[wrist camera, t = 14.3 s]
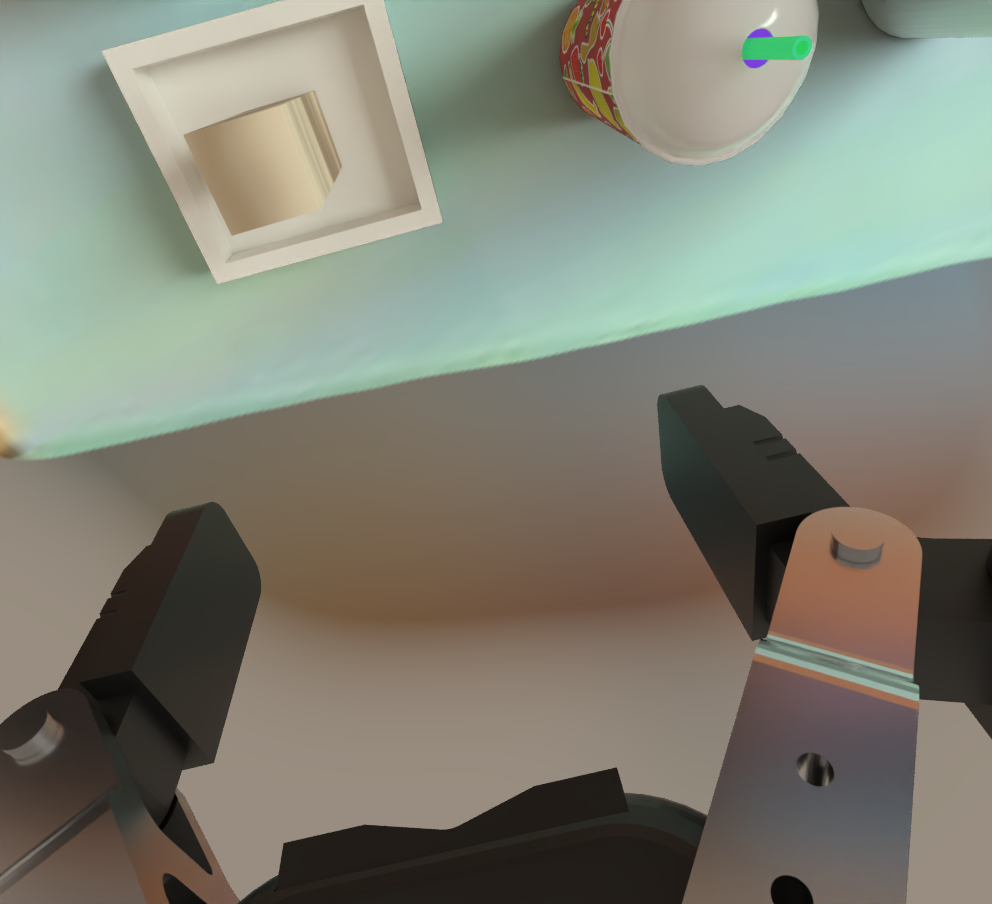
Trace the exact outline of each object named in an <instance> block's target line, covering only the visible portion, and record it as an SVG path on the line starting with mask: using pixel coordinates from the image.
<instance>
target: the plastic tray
mask: <svg viewBox="0 0 992 904" xmlns="http://www.w3.org/2000/svg"><path fill="white" fill-rule="evenodd" d="M102 53H103V55H104V57H105V59H106V61H107V63H108V65H109V68H110V70H111V72H112V74H113V76H114V78H115V80H116V82H117V84H118V86H119V88H120V90H121V92H122V94H123V96H124V98H125V100H126V102H127V104H128V106H129V108H130V110H131V112H132V114H133V116H134V118H135V120H136V122H137V124H138V126H139V128H140V130H141V132H142V134H143V136H144V138H145V140H146V142H147V144H148V146H149V148H150V150H151V152H152V154H153V156H154V158H155V160H156V162H157V164H158V166H159V168H160V170H161V172H162V174H163V176H164V178H165V180H166V182H167V184H168V186H169V188H170V190H171V192H172V194H173V196H174V198H175V200H176V202H177V204H178V206H179V208H180V210H181V212H182V214H183V216H184V218H185V220H186V222H187V224H188V226H189V228H190V231H191V233H192V235H193V237H194V239H195V241H196V243H197V245H198V247H199V249H200V251H201V253H202V255H203V257H204V259H205V261H206V263H207V265H208V267H209V269H210V271H211V273H212V275H213V277H214V279H215V281H216V283H217V284H220V283H223V282H227V281H231V280H234V279H238V278H242V277H245V276H249V275H253V274H256V273H260V272H264V271H267V270H271V269H275V268H278V267H282V266H286V265H289V264H293V263H297V262H300V261H304V260H308V259H311V258H315V257H319V256H322V255H326V254H330V253H333V252H337V251H340V250H344V249H348V248H351V247H355V246H359V245H362V244H366V243H370V242H373V241H377V240H381V239H384V238H388V237H392V236H395V235H399V234H403V233H406V232H410V231H414V230H417V229H421V228H425V227H428V226H432V225H436V224H439V223H443V221H442V217H441V213H440V209H439V206H438V202H437V198H436V194H435V191H434V187H433V183H432V180H431V176H430V172H429V168H428V165H427V161H426V157H425V153H424V150H423V146H422V142H421V138H420V135H419V131H418V127H417V124H416V120H415V116H414V112H413V109H412V105H411V101H410V97H409V94H408V90H407V86H406V83H405V79H404V75H403V71H402V68H401V64H400V60H399V56H398V53H397V49H396V45H395V42H394V38H393V34H392V30H391V27H390V23H389V19H388V15H387V12H386V8H385V4H384V1H383V0H281V1H278V2H274V3H271V4H267V5H264V6H260V7H256V8H253V9H249V10H246V11H242V12H239V13H235V14H231V15H228V16H224V17H221V18H217V19H214V20H210V21H206V22H203V23H199V24H196V25H192V26H189V27H185V28H181V29H178V30H174V31H171V32H167V33H164V34H160V35H156V36H153V37H149V38H146V39H142V40H139V41H135V42H131V43H128V44H124V45H121V46H117V47H114V48H110V49H106V50H103V51H102ZM311 91H315V92H316V95H317V98H318V101H319V104H320V106H321V109H322V112H323V115H324V117H325V120H326V123H327V126H328V129H329V131H330V134H331V137H332V140H333V142H334V145H335V148H336V151H337V154H338V156H339V159H340V162H341V165H342V168H341V170H340V172H339V174H338V176H337V178H336V180H335V182H334V184H333V186H332V188H331V190H330V192H329V194H328V196H327V198H326V200H325V202H324V204H323V206H322V208H321V210H317V211H314V212H310V213H307V214H304V215H300V216H297V217H294V218H290V219H287V220H283V221H280V222H277V223H273V224H270V225H267V226H263V227H260V228H256V229H253V230H250V231H246V232H243V233H240V234H236V235H233V236H232V235H231V233H230V231H229V229H228V227H227V225H226V223H225V221H224V219H223V217H222V215H221V213H220V210H219V208H218V206H217V204H216V202H215V200H214V198H213V196H212V194H211V192H210V190H209V188H208V186H207V184H206V181H205V179H204V177H203V175H202V173H201V171H200V169H199V167H198V165H197V163H196V161H195V159H194V157H193V154H192V152H191V150H190V148H189V146H188V144H187V142H186V140H185V138H184V136H183V135H184V134H187V133H189V132H192V131H195V130H197V129H200V128H203V127H205V126H208V125H211V124H213V123H216V122H219V121H221V120H224V119H227V118H229V117H232V116H235V115H237V114H240V113H242V112H245V111H248V110H252V109H255V108H258V107H262V106H265V105H268V104H271V103H275V102H278V101H281V100H285V99H288V98H291V97H295V96H298V95H301V94H305V93H308V92H311Z"/></svg>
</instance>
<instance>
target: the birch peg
mask: <svg viewBox="0 0 992 904" xmlns="http://www.w3.org/2000/svg"><path fill="white" fill-rule="evenodd" d="M183 136H184V138H185V140H186V142H187V144H188V146H189V148H190V150H191V152H192V154H193V157H194V159H195V161H196V163H197V165H198V167H199V169H200V171H201V173H202V175H203V177H204V179H205V181H206V184H207V186H208V188H209V190H210V192H211V194H212V196H213V198H214V200H215V202H216V204H217V206H218V208H219V210H220V213H221V215H222V217H223V219H224V221H225V223H226V225H227V227H228V229H229V231H230V233H231V235H232V236H233V235H236V234H240V233H243V232H246V231H250V230H253V229H256V228H260V227H263V226H267V225H270V224H273V223H277V222H280V221H283V220H287V219H290V218H294V217H297V216H300V215H304V214H307V213H310V212H314V211H317V210H321V208H322V206H323V204H324V202H325V200H326V198H327V196H328V194H329V192H330V190H331V188H332V186H333V184H334V182H335V180H336V178H337V176H338V174H339V172H340V170H341V168H342V165H341V162H340V159H339V156H338V154H337V151H336V148H335V145H334V142H333V140H332V137H331V134H330V131H329V129H328V126H327V123H326V120H325V117H324V115H323V112H322V109H321V106H320V104H319V101H318V98H317V95H316V92H315V91H311V92H308V93H305V94H301V95H298V96H295V97H291V98H288V99H285V100H281V101H278V102H275V103H271V104H268V105H265V106H262V107H258V108H255V109H252V110H248V111H245V112H242V113H240V114H237V115H235V116H232V117H229V118H227V119H224V120H221V121H219V122H216V123H213V124H211V125H208V126H205V127H203V128H200V129H197V130H195V131H192V132H189V133H187V134H184V135H183Z"/></svg>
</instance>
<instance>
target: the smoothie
mask: <svg viewBox="0 0 992 904" xmlns="http://www.w3.org/2000/svg"><path fill="white" fill-rule="evenodd" d="M818 20H819V8H818V3H817V0H579V1H578V3H577V4H576V5H575V7H574V8H573V9H572V11H571V12H570V15H569V18H568V20H567V23H566V25H565V28H564V30H563V33H562V40H561V49H560V63H561V70H562V77H563V80H564V82H565V85H566V87H567V89H568V91H569V93H570V95H571V97H572V98H573V99H574V101H575V102H576V103H577V104H578V105H579V106H580V107H581V108H582V109H583V110H584V111H585V112H587V113H589V114H590V115H592V116H594V117H595V118H597V119H599V120H600V121H602V122H604V123H605V124H607V125H609V126H610V127H612V128H614V129H615V130H617V131H618V132H620V133H622V134H623V135H625V136H627V137H628V138H630V139H632V140H633V141H635V142H637V143H638V144H640V145H642V146H643V148H644V149H646V150H647V151H649V152H651V153H653V154H655V155H656V156H658V157H660V158H662V159H664V160H666V161H667V162H669V163H674V164H683V165H693V166H702V165H706V164H710V163H714V162H718V161H723V160H727V159H729V158H731V157H733V156H734V155H736V154H738V153H739V152H741V151H743V150H744V149H746V148H748V147H749V146H751V145H753V144H754V143H756V142H757V141H758V140H759V139H760V138H761V137H762V136H763V135H764V134H765V133H766V132H767V131H768V130H769V129H770V128H771V127H772V126H773V125H774V124H775V123H776V122H777V121H778V120H779V119H780V118H781V117H782V116H783V114H784V112H785V111H786V109H787V107H788V106H789V105H790V103H791V102H792V100H793V98H794V97H795V95H796V93H797V92H798V90H799V88H800V87H801V85H802V83H803V81H804V80H805V78H806V76H807V73H808V70H809V67H810V64H811V60H812V57H813V54H814V51H815V48H816V45H817V33H818Z"/></svg>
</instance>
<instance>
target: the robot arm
mask: <svg viewBox="0 0 992 904" xmlns="http://www.w3.org/2000/svg"><path fill="white" fill-rule="evenodd" d="M862 3H863V5H864V7H865V10H866V12H867V14H868V16H869V17H870V19H871V20H872V21H873V22H874V24H875V25H876V26H877V27H878V28H879V29H881V30H883V31H884V32H886V33H887V34H889V35H892V36H895V37H899V38H948V37H955V38H963V37H992V0H862ZM657 406H658V420H659V421H658V422H659V436H660V449H661V464H662V471H663V476H664V480H665V484H666V487H667V490H668V493H669V495H670V497H671V499H672V501H673V503H674V505H675V506H676V508H677V510H678V512H679V513H680V515H681V517H682V519H683V521H684V522H685V524H686V526H687V528H688V529H689V531H690V533H691V535H692V536H693V538H694V540H695V542H696V543H697V545H698V547H699V549H700V550H701V552H702V554H703V556H704V557H705V559H706V561H707V563H708V564H709V566H710V568H711V570H712V571H713V573H714V575H715V577H716V579H717V580H718V582H719V584H720V586H721V587H722V589H723V591H724V593H725V594H726V596H727V598H728V600H729V601H730V603H731V605H732V607H733V608H734V610H735V612H736V614H737V615H738V617H739V619H740V621H741V622H742V624H743V626H744V628H745V629H746V631H747V633H748V635H749V636H750V638H751V640H752V641H754V640H757V639H761V640H760V641H759V643H758V645H757V648H756V651H755V653H754V657H753V660H752V663H751V667H750V670H749V674H748V677H747V681H746V684H745V688H744V691H743V695H742V698H741V702H740V705H739V708H738V712H737V715H736V719H735V722H734V726H733V729H732V732H731V736H730V740H729V743H728V746H727V750H726V753H725V757H724V760H723V764H722V767H721V770H720V774H719V777H718V781H717V784H716V788H715V791H714V795H713V798H712V802H711V805H710V808H709V812H708V815H705V814H703V813H701V812H699V811H697V810H694V809H692V808H690V807H688V806H686V805H683V804H680V803H677V802H674V801H670V800H668V799H665V798H660V797H654V796H649V795H644V794H634V793H624V791H623V788H622V784H621V780H620V777H619V773H618V770H617V768H612V769H608V770H603V771H599V772H595V773H590V774H586V775H582V776H577V777H573V778H568V779H564V780H560V781H556V782H551V783H546V784H542V785H537V786H534V787H532V788H530V789H528V790H526V791H524V792H522V793H520V794H519V795H517V796H515V797H513V798H511V799H509V800H507V801H505V802H503V803H501V804H499V805H498V806H496V807H494V808H492V809H490V810H488V811H486V812H484V813H482V814H481V815H479V816H477V817H475V818H473V819H471V820H469V821H467V822H465V823H463V824H462V825H460V826H457V827H455V828H452V829H447V830H438V829H421V828H407V827H391V826H390V827H389V826H376V825H362V826H357V827H353V828H348V829H344V830H340V831H335V832H331V833H326V834H322V835H317V836H314V837H309V838H305V839H300V840H296V841H291V842H287V843H284V844H283V850H282V857H281V863H280V869H279V875H277V876H276V877H274V878H272V879H270V880H269V881H267V882H266V883H264V884H263V885H262V886H260V887H258V888H257V889H255V890H254V891H252V892H251V893H250V894H249V895H247V896H246V897H245V898H244V899H243V900H241V901H240V900H239V899H238V897H237V896H236V894H235V893H234V891H233V890H232V888H231V887H230V885H229V883H228V881H227V880H226V877H225V875H224V873H223V872H222V869H221V867H220V865H219V863H218V861H217V859H216V857H215V855H214V853H213V852H212V850H211V847H210V845H209V843H208V841H207V839H206V838H205V836H204V834H203V832H202V829H201V827H200V826H199V824H198V822H197V820H196V818H195V816H194V814H193V812H192V810H191V808H190V806H189V804H188V802H187V800H186V798H185V796H184V795H183V793H181V792H180V791H179V789H178V788H177V784H178V781H179V778H180V775H181V772H182V770H185V769H190V768H194V767H198V766H203V765H207V764H211V763H214V760H215V756H216V753H217V749H218V746H219V742H220V738H221V735H222V731H223V728H224V724H225V720H226V717H227V713H228V709H229V706H230V703H231V699H232V695H233V692H234V688H235V684H236V681H237V677H238V674H239V670H240V666H241V663H242V659H243V656H244V652H245V649H246V645H247V641H248V638H249V634H250V631H251V627H252V623H253V620H254V616H255V612H256V609H257V605H258V602H259V598H260V594H261V579H260V574H259V570H258V567H257V565H256V563H255V561H254V559H253V557H252V555H251V554H250V552H249V551H248V549H247V547H246V546H245V544H244V542H243V541H242V539H241V537H240V536H239V534H238V532H237V531H236V529H235V527H234V526H233V524H232V522H231V521H230V519H229V517H228V516H227V514H226V512H225V511H224V509H223V508H222V507H221V506H220V505H219V504H217V503H215V502H209V503H206V504H201V505H197V506H193V507H189V508H185V509H180V510H176V511H172V512H170V513H169V514H168V515H167V516H166V517H165V519H164V521H163V523H162V525H161V527H160V528H159V530H158V532H157V534H156V536H155V538H154V540H153V542H152V544H151V545H149V546H146V547H145V548H144V549H143V551H142V552H141V553H140V554H139V555H138V556H137V557H136V558H135V559H134V560H133V561H132V562H131V563H130V564H129V565H128V566H127V567H126V568H125V569H124V570H123V572H122V574H121V576H120V578H119V579H118V581H117V583H116V585H115V587H114V589H113V591H112V592H111V598H109V599H108V600H107V601H106V603H105V605H104V607H103V609H102V610H101V613H100V618H99V619H96V621H95V623H94V625H93V627H92V629H91V630H90V632H89V634H88V636H87V638H86V639H85V641H84V643H83V645H82V647H81V648H80V650H79V652H78V654H77V656H76V657H75V659H74V661H73V663H72V665H71V667H70V668H69V670H68V672H67V674H66V676H65V677H64V679H63V681H62V683H61V685H60V687H59V688H58V690H56V691H52V692H49V693H47V694H44V695H41V696H39V697H38V698H35V699H34V700H32V701H30V702H28V703H27V704H25V705H24V706H22V707H21V708H20V709H18V710H17V711H15V712H14V713H13V714H11V715H10V716H9V717H8V718H7V719H5V720H4V722H2V723H1V724H0V904H906V897H907V896H906V895H907V881H908V865H909V849H910V836H911V821H912V805H913V790H914V775H915V760H916V744H917V730H918V714H919V699H922V700H936V701H948V702H962V703H965V704H966V706H967V707H968V708H969V710H970V711H971V712H972V714H973V715H974V716H975V718H976V719H977V720H978V722H979V723H980V724H981V725H982V727H983V728H984V729H985V730H986V732H987V733H988V735H989V736H990V737H991V739H992V539H931V538H919V537H916V536H915V535H914V534H913V533H912V532H911V531H910V530H909V529H908V528H907V527H906V526H905V525H903V524H902V523H901V522H899V521H897V520H895V519H894V518H892V517H889V516H887V515H885V514H882V513H879V512H876V511H873V510H869V509H864V508H856V507H850V506H849V505H848V504H847V503H846V502H845V501H844V500H843V499H842V498H841V496H839V494H838V493H837V492H836V491H835V490H834V489H833V488H832V487H831V486H830V485H829V484H828V483H827V482H826V481H825V480H824V479H823V478H822V476H821V475H820V474H819V473H818V472H817V471H816V470H815V469H814V468H813V467H812V466H811V465H810V464H809V463H808V462H807V461H806V460H805V458H804V457H803V456H802V455H801V454H797V452H796V449H795V448H794V447H793V446H792V445H791V444H790V443H789V442H788V441H787V440H786V439H783V437H782V434H781V433H780V432H779V431H778V430H777V429H776V428H775V427H774V426H773V425H772V424H771V423H770V422H769V421H768V419H767V418H766V417H764V416H762V415H760V414H757V413H755V412H753V411H751V410H749V409H747V408H745V407H743V406H740V405H737V406H733V407H728V408H723V407H722V406H721V405H720V403H719V402H718V401H717V400H716V399H715V398H714V397H713V395H712V394H711V393H710V392H709V391H708V389H707V388H706V387H705V386H703V385H699V386H694V387H691V388H686V389H682V390H678V391H674V392H670V393H666V394H661V395H660V396H659V397H658V403H657ZM762 638H766V640H763V639H762Z"/></svg>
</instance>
